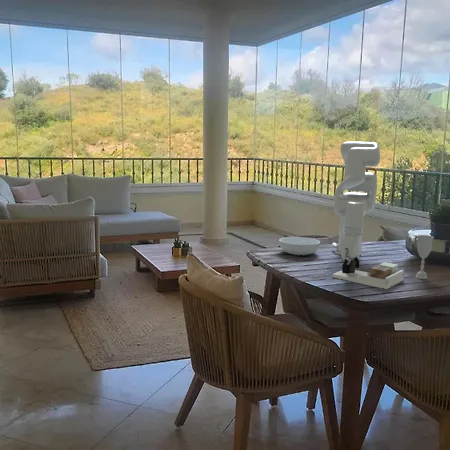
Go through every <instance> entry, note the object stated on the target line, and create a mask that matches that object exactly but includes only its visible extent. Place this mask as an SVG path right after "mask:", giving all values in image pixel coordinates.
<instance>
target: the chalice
mask: <svg viewBox="0 0 450 450" xmlns="http://www.w3.org/2000/svg"><path fill="white" fill-rule="evenodd" d="M434 238H435V237H434V236H432V235H428V234H427V235H426V234H418V235H416V239H417V241H416V250H417V253H418V256H419V257H420V258H421V261H420V263H421V265H419V266H420V270H419V271H418V272H417V273H416V275H415V278H416V279H420V280H427V279H428V276H427V273H426V272H425V271H424V268H425V259H427V258H428V256H429V255H430V253H431V251H432V249H433V240H434Z"/></svg>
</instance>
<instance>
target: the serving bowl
mask: <svg viewBox="0 0 450 450" xmlns="http://www.w3.org/2000/svg"><path fill="white" fill-rule="evenodd" d="M278 244H279V247H280V249H281V250H282V251H284V252H285V253H287V254H291V255H292V254H293V256H300V255H302V256H307V255H311V254H314V253H316V252H317V251H318V249H319V248H320V246H321V241H320V240H318V239H315V238H310V237H302V236H301V237H300V236H288V237H281V238H279V239H278Z"/></svg>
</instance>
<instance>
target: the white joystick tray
mask: <svg viewBox="0 0 450 450" xmlns="http://www.w3.org/2000/svg"><path fill="white" fill-rule="evenodd" d="M378 266H382V267H387V268H391V271H390V276H388V277H386V278H385V279H380V278H375V277H370V273H368V272H363V271H359V270H355V273H350V274H346V273H342V269H341V270H339V271H336V272H335V273H332V278H333V277H334V278H335V279H339V280H342V279H343V280H344V281H347V280H348V281H347V282H351V281H352V283H357V284H362V285H366V286H370V287H375V288H380V289H383V288H384V290H388V289H390V288H392V287H393V286H395V285H397V284H400V283H402V282H403V281H404V273H405V272H404V271H405V270H404V269H400V270H399V264H397V263H392V262H386V261H384V262H381V263H380V264H378ZM391 286H392V287H391Z"/></svg>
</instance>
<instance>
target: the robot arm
mask: <svg viewBox="0 0 450 450" xmlns="http://www.w3.org/2000/svg"><path fill="white" fill-rule="evenodd" d="M340 154H341V156H342V159H343V162H344V172H343V173H344V174H343V176H344V177H343V180H342V181H341V182H340V183H338V185H337V187H336V189H335V191H334V194H333V195H334V196H333V212H334V214H335V215H336V216H339V230H338V231H339V233H338V243H335V242H333V243H332V244H331V247H332V248H334V249H335V248H336V249H335V250H334V253H335V254H336V255H340V256H341V264H342V268H341V270H342V273H346V274H350V265H349V263H350V261H351V260H355V261H356V264H355V267H356V268H360V260H361V256H362V252H363V249H362V243H363V240H362V239H363V238H362V237H363V231H364V230H363V229H364V217H365V215H366V214H368V213H371V212H374V210H375V207H376V200H377V190H378V178H377V175H376V174H375V173H373V172H366V167H371V168H372V167H378V165H379V164H380V162H381V151H380V146H379V144H378V143H377V142H375V141H343V143H342V142H341V144H340ZM345 191H347V192H345ZM347 260H348V261H347Z"/></svg>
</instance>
